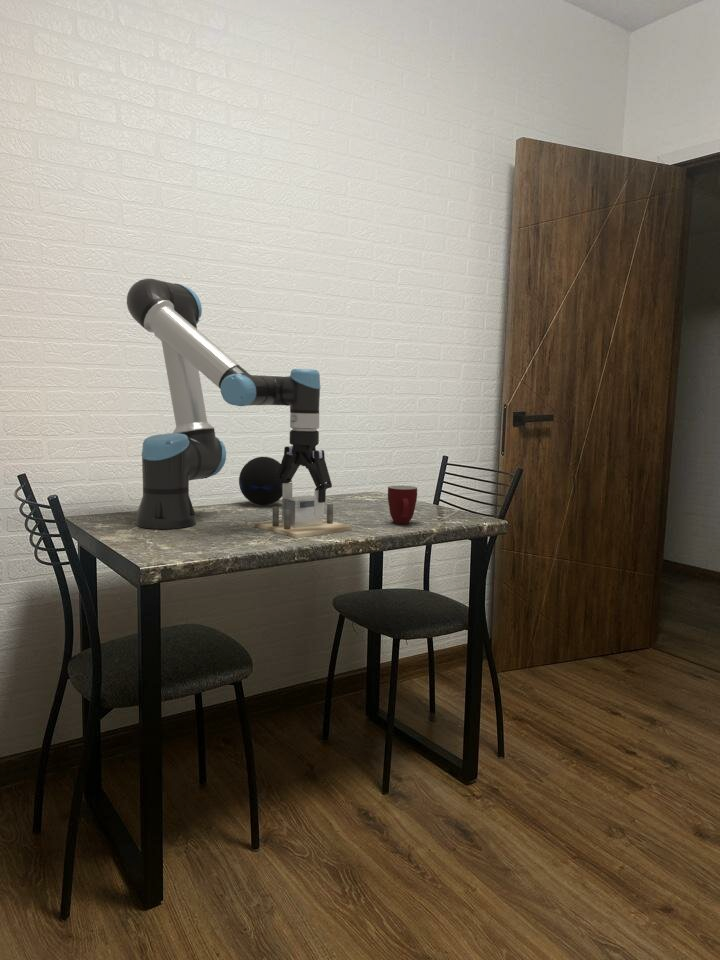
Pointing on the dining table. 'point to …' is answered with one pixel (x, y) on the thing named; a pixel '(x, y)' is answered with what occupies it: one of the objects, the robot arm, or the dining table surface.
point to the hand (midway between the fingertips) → (302, 511)
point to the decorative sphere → (261, 481)
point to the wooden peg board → (285, 529)
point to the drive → (301, 511)
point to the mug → (402, 503)
